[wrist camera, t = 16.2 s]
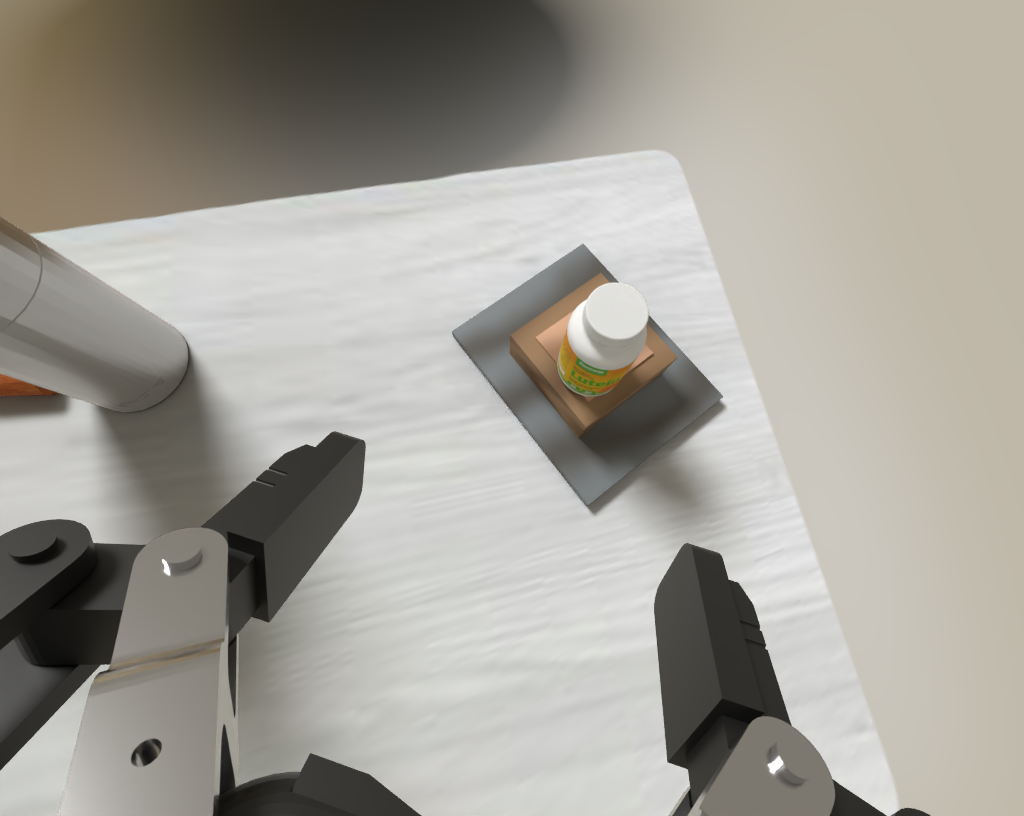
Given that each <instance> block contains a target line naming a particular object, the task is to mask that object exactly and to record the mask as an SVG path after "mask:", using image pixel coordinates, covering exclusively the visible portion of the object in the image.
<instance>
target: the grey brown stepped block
mask: <svg viewBox="0 0 1024 816" xmlns="http://www.w3.org/2000/svg"><path fill="white" fill-rule="evenodd" d="M607 283H619V282H618V281H617V280H616V279H615V278H614V277H613V276H612V274H611V273H610V272H609V271H608V270H607V269H606V268H605V267H604V266H603V265H602V264H601V262H600V261H599V260H598V259H597V258H596V257H595V256H594V255H593V254H592V253H591V252H590V250H589V249H588V248H587V247H586V246H585V245H584V244H582V245H580V246H579V247H577V248H576V249H574V250H573V251H571V252H570V253H568V254H567V255H565V256H564V257H562V258H561V259H559V260H558V261H556V262H555V263H553V264H552V265H551V266H549V267H548V268H546V269H545V270H543V271H542V272H540V273H539V274H537V275H536V276H534V277H533V278H531V279H530V280H528V281H527V282H525V283H524V284H522V285H521V286H519V287H518V288H516V289H515V290H513V291H512V292H510V293H509V294H507V295H506V296H504V297H503V298H501V299H500V300H498V301H497V302H495V303H494V304H492V305H491V306H489V307H488V308H486V309H485V310H483V311H482V312H480V313H479V314H477V315H476V316H474V317H473V318H471V319H470V320H468V321H467V322H465V323H464V324H462V325H461V326H459V327H458V328H456V329H455V330H453V331H452V334H453V337H454V338H455V339H456V340H457V342H458V343H459V344H460V346H461V347H462V348H463V349H464V351H465V352H466V353H467V354H468V356H469V357H470V358H471V360H472V361H473V362H474V363H475V365H476V366H477V367H478V368H479V370H480V371H481V372H482V374H483V375H484V376H485V377H486V379H487V380H488V381H489V382H490V384H491V385H492V386H493V388H494V389H495V390H496V391H497V393H498V394H499V395H500V397H501V398H502V399H503V400H504V402H505V403H506V404H507V405H508V407H509V408H510V409H511V411H512V412H513V413H514V414H515V416H516V417H517V418H518V419H519V421H520V422H521V423H522V425H523V426H524V427H525V428H526V430H527V431H528V432H529V433H530V435H531V436H532V437H533V439H534V440H535V441H536V442H537V444H538V445H539V446H540V447H541V449H542V450H543V451H544V453H545V454H546V455H547V456H548V458H549V459H550V460H551V462H552V463H553V464H554V465H555V467H556V468H557V469H558V470H559V472H560V473H561V474H562V476H563V477H564V478H565V479H566V481H567V482H568V483H569V484H570V486H571V487H572V488H573V490H574V491H575V492H576V493H577V495H578V496H579V497H580V498H581V500H582V501H583V502H584V504H585V505H586V506H587V505H589V504H590V503H592V502H593V501H594V500H595V499H597V498H598V497H599V496H600V495H602V494H603V493H604V492H605V491H607V490H608V489H609V488H610V487H612V486H613V485H614V484H615V483H616V482H618V481H619V480H620V479H621V478H623V477H624V476H625V475H626V474H628V473H629V472H630V471H631V470H633V469H634V468H635V467H636V466H638V465H639V464H640V463H641V462H643V461H644V460H645V459H646V458H648V457H649V456H650V455H651V454H653V453H654V452H655V451H656V450H658V449H659V448H660V447H661V446H663V445H664V444H665V443H666V442H668V441H669V440H670V439H671V438H673V437H674V436H675V435H676V434H678V433H679V432H680V431H681V430H683V429H684V428H685V427H686V426H687V425H689V424H690V423H691V422H692V421H694V420H695V419H696V418H697V417H699V416H700V415H701V414H702V413H704V412H705V411H706V410H707V409H709V408H710V407H711V406H712V405H714V404H715V403H716V402H717V401H719V400H720V399H721V398H722V397H723V396H722V395H721V393H720V392H719V391H718V390H717V389H716V388H715V387H714V386H713V385H712V384H711V383H710V381H709V380H708V379H707V378H706V377H705V376H704V375H703V374H702V373H701V372H700V371H699V369H698V368H697V367H696V366H695V365H694V364H693V363H692V362H691V361H690V360H689V359H688V357H687V356H686V355H685V354H684V353H683V352H682V351H681V350H680V349H679V348H678V347H677V345H676V344H675V343H674V342H673V341H672V340H671V339H670V338H669V337H668V336H667V334H666V333H665V332H664V331H663V330H662V329H661V328H660V327H659V326H658V325H657V324H656V322H655V321H654V320H653V319H652V318H651V317H650V316H649V317H648V322H647V325H646V328H647V338H646V342H645V346H644V348H643V350H642V351H641V353H640V355H639V356H638V357H637V359H636V360H635V361H634V363H633V364H632V365H631V367H630V368H629V369H628V371H627V372H626V373H625V375H624V376H623V377H622V379H621V380H620V381H619V383H618V384H617V385H616V386H615V387H614V388H613V389H612V390H611V391H609V392H608V393H606V394H603V395H600V396H593V397H590V396H583V395H580V394H577V393H575V392H573V391H572V390H571V389H569V388H568V387H567V386H566V385H565V384H564V382H563V381H562V379H561V377H560V375H559V372H558V366H557V362H558V356H559V352H560V349H561V346H562V342H563V339H564V336H565V332H566V329H567V326H568V323H569V320H570V317H571V315H572V313H573V312H574V310H575V309H576V308H577V307H578V306H579V305H580V304H581V303H582V302H583V301H585V300H587V299H588V297H589V296H590V294H591V293H592V292H593V291H594V290H595V289H596V288H598V287H600V286H602V285H604V284H607Z"/></svg>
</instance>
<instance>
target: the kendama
mask: <svg viewBox="0 0 1024 816" xmlns="http://www.w3.org/2000/svg"><path fill="white" fill-rule="evenodd" d="M56 393H57V392H54V391H51V390H48V389H45V388H42V387H39V386H36V385H33V384H30V383H27V382H24V381H21V380H17V379H14V378H11V377H8V376H5V375H2V374H0V396H16V395H52V394H56Z"/></svg>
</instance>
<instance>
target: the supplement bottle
mask: <svg viewBox="0 0 1024 816" xmlns="http://www.w3.org/2000/svg"><path fill="white" fill-rule="evenodd" d="M648 317H649V310H648V305H647V303H646V300H645V299H644V297H643V296H642V295H641V293H640V292H638V291H637V290H636V289H635V288H633V287H631V286H629V285H626V284H623V283H607V284H604V285H602V286H600V287H598V288H596V289H595V290H594V291H593V292H592V293H591V294H590V296H589V297H588V299H587V300H585V301H583V302H582V303H581V304H580V305H579V306H578V307H577V308H576V309H575V310H574V312H573V313H572V315H571V317H570V320H569V323H568V326H567V329H566V332H565V336H564V339H563V342H562V346H561V349H560V352H559V356H558V362H557V366H558V372H559V375H560V377H561V379H562V381H563V382H564V384H565V385H566V386H567V387H568V388H569V389H571V390H572V391H573V392H575V393H577V394H580V395H583V396H590V397H593V396H600V395H603V394H606V393H608V392H609V391H611V390H612V389H613V388H614V387H615V386H616V385H617V384H618V383H619V381H620V380H621V379H622V377H623V376H624V375H625V373H626V372H627V371H628V369H629V368H630V367H631V365H632V364H633V363H634V361H635V360H636V359H637V357H638V356H639V355H640V353H641V351H642V350H643V348H644V346H645V342H646V338H647V328H646V325H647V322H648Z"/></svg>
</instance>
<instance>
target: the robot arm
mask: <svg viewBox="0 0 1024 816" xmlns="http://www.w3.org/2000/svg"><path fill="white" fill-rule="evenodd" d="M188 359H189V357H188V347H187V344H186V341H185V339H184V338H183V336H182V335H181V333H180V332H179V331H178V330H177V329H176V328H175V327H173V326H172V325H170V324H169V323H167V322H166V321H164V320H162V319H161V318H159V317H158V316H156V315H155V314H153V313H151V312H150V311H148V310H147V309H145V308H144V307H142V306H141V305H139V304H138V303H136V302H134V301H133V300H131V299H130V298H128V297H127V296H125V295H124V294H122V293H120V292H119V291H117V290H116V289H114V288H113V287H111V286H109V285H108V284H106V283H105V282H103V281H102V280H100V279H98V278H97V277H95V276H94V275H92V274H91V273H89V272H88V271H86V270H84V269H83V268H81V267H80V266H78V265H77V264H75V263H73V262H72V261H70V260H69V259H67V258H66V257H64V256H63V255H61V254H59V253H58V252H56V251H55V250H53V249H52V248H50V247H48V246H47V245H45V244H44V243H42V242H41V241H39V240H37V239H36V238H34V237H33V236H31V235H30V234H28V233H27V232H25V231H23V230H22V229H20V228H18V227H17V226H15V225H14V224H12V223H10V222H9V221H7V220H6V219H4V218H3V217H1V216H0V374H2V375H5V376H8V377H11V378H14V379H17V380H21V381H24V382H27V383H30V384H33V385H36V386H39V387H42V388H45V389H48V390H51V391H54V392H57V393H61V394H64V395H67V396H70V397H72V398H76V399H79V400H82V401H85V402H88V403H91V404H95V405H98V406H101V407H104V408H107V409H110V410H113V411H118V412H135V411H140V410H143V409H147V408H150V407H152V406H154V405H156V404H158V403H160V402H161V401H162V400H164V399H165V398H166V397H168V396H169V395H170V394H171V393H172V392H173V391H174V390H175V389H176V388H177V386H178V385H179V383H180V382H181V380H182V379H183V376H184V374H185V372H186V369H187V365H188ZM365 448H366V446H365V442H364V440H361V439H358V438H355V437H351V436H348V435H345V434H342V433H339V432H332V433H330V434H329V435H328V436H327V437H326V438H325V439H324V440H323V441H322V442H321V443H320V444H318V445H317V446H316V447H313V446H310V445H307V444H306V445H304V446H301V447H299V448H297V449H294V450H292V451H290V452H287V453H285V454H284V455H283V456H282V457H280V458H279V459H278V460H277V461H276V462H275V463H274V464H272V465H271V466H270V467H269V470H266V471H264V472H263V473H262V474H261V475H260V476H259V477H258V478H256V481H255V482H254V481H253V482H252V483H251V484H250V485H248V486H247V487H246V488H245V489H244V490H243V491H242V492H240V493H239V494H238V495H237V496H236V497H235V498H234V499H232V500H231V501H230V502H229V503H228V504H227V505H226V506H224V507H223V508H222V509H221V510H220V511H219V512H218V513H216V514H215V515H214V516H213V517H212V518H211V519H210V520H208V521H207V522H206V523H205V524H204V525H202V526H201V527H192V528H184V529H178V530H175V531H172V532H169V533H166V534H164V535H162V536H160V537H158V538H156V539H154V540H153V541H151V542H150V543H149V544H147V545H127V544H100V543H93V541H92V538H91V535H90V532H89V530H88V529H87V528H86V526H84V525H83V524H81V523H78V522H76V521H71V520H62V519H57V520H46V521H40V522H35V523H31V524H28V525H24V526H21V527H19V528H16V529H13V530H11V531H9V532H7V533H5V534H3V535H1V536H0V770H1V769H2V768H3V767H4V766H5V765H6V764H7V763H8V762H9V761H10V760H11V759H12V758H13V757H14V756H15V754H16V753H17V752H18V751H19V750H20V749H21V748H22V747H23V746H24V745H25V744H26V743H27V742H28V741H29V740H30V739H31V738H32V737H33V736H34V735H35V733H36V732H37V731H38V730H39V729H40V728H41V727H42V726H43V725H44V724H45V723H46V722H47V721H48V720H49V719H50V718H51V717H52V716H53V715H54V713H55V712H56V711H57V710H58V709H59V708H60V707H61V706H62V705H63V704H64V703H65V702H66V701H67V700H68V699H69V698H70V697H71V696H72V695H73V693H74V692H75V691H76V690H77V689H78V688H79V687H80V686H81V685H82V684H83V683H84V682H85V681H86V680H87V679H88V678H89V677H90V676H91V675H92V673H93V672H94V671H95V670H96V669H97V668H98V667H99V666H100V665H104V664H110V666H109V669H108V670H107V671H103V672H100V673H98V674H97V675H96V677H95V679H94V680H93V683H92V685H91V688H90V691H89V694H88V698H87V702H86V706H85V710H84V714H83V718H82V722H81V726H80V730H79V734H78V738H77V742H76V746H75V750H74V754H73V758H72V762H71V766H70V770H69V774H68V778H67V782H66V786H65V790H64V794H63V798H62V802H61V806H60V810H59V814H58V816H421V815H420V814H418V813H417V812H416V811H415V810H413V809H412V808H411V807H410V806H408V805H407V804H406V803H405V802H403V801H402V800H401V799H400V798H398V797H397V796H396V795H394V794H393V793H392V792H391V791H389V790H388V789H387V788H386V787H384V786H383V785H382V784H381V783H379V782H378V781H377V780H376V779H374V778H373V777H372V776H371V775H369V774H366V773H364V772H361V771H358V770H355V769H353V768H350V767H347V766H344V765H342V764H339V763H336V762H333V761H330V760H328V759H325V758H322V757H319V756H317V755H314V754H311V753H310V755H309V757H308V759H307V761H306V763H305V765H304V767H303V768H302V770H301V772H287V773H280V774H273V775H269V776H265V777H261V778H258V779H255V780H252V781H249V782H247V783H244V784H242V785H240V764H239V743H238V666H239V634H238V633H239V631H240V630H241V629H242V628H243V626H244V625H245V624H246V623H247V621H248V620H249V619H250V618H251V617H254V618H257V619H260V620H263V621H266V622H270V621H271V619H272V618H273V617H274V615H275V614H276V613H277V611H278V610H279V609H280V607H281V606H282V605H283V603H284V602H285V601H286V599H287V598H288V597H289V595H290V594H291V593H292V592H293V590H294V589H295V588H296V586H297V585H298V584H299V582H300V581H301V580H302V578H303V577H304V576H305V574H306V573H307V572H308V570H309V569H310V568H311V566H312V565H313V564H314V562H315V561H316V560H317V558H318V557H319V556H320V554H321V553H322V552H323V550H324V549H325V548H326V547H327V545H328V544H329V543H330V541H331V540H332V539H333V537H334V536H335V535H336V533H337V532H338V531H339V529H340V528H341V527H342V525H343V524H344V523H345V521H346V520H347V519H348V517H349V516H350V515H351V513H352V512H353V511H354V509H355V507H356V505H357V503H358V501H359V498H360V495H361V492H362V485H363V473H364V461H365ZM654 615H655V626H656V637H657V648H658V660H659V671H660V682H661V694H662V705H663V716H664V728H665V739H666V750H667V762H669V763H671V764H674V765H677V766H680V767H683V768H686V769H688V773H689V781H690V786H689V787H688V788H687V789H686V791H685V792H684V793H683V795H682V796H681V798H680V799H679V801H678V802H677V804H676V805H675V807H674V808H673V810H672V811H671V813H670V814H669V816H886V815H885V814H883V813H882V812H880V811H879V810H877V809H876V808H874V807H873V806H871V805H870V804H868V803H867V802H865V801H864V800H862V799H861V798H859V797H858V796H856V795H855V794H853V793H852V792H850V791H849V790H847V789H846V788H844V787H843V786H841V785H840V784H838V783H837V782H836V781H834V780H833V779H832V777H831V774H830V772H829V770H828V767H827V765H826V763H825V762H824V760H823V758H822V757H821V755H820V754H819V752H818V751H817V750H816V748H815V747H814V746H813V745H812V744H811V742H810V741H809V740H808V739H807V738H806V737H805V736H804V735H803V734H801V733H800V732H799V731H798V730H797V729H795V728H794V727H792V725H791V723H790V720H789V717H788V713H787V710H786V707H785V704H784V701H783V698H782V694H781V691H780V688H779V685H778V682H777V678H776V675H775V672H774V669H773V666H772V663H771V659H770V656H769V653H768V650H766V649H765V647H766V644H765V640H764V637H763V634H762V631H760V624H759V621H758V618H757V615H756V612H755V609H754V605H753V604H752V602H751V601H750V599H749V598H748V596H747V595H746V593H745V592H744V590H743V589H742V587H741V586H740V585H739V583H738V582H734V581H731V580H728V576H727V572H726V569H725V565H724V561H723V558H722V556H721V555H720V554H719V553H717V552H714V551H711V550H708V549H704V548H701V547H698V546H695V545H692V544H689V543H686V544H684V545H683V546H682V547H681V549H680V551H679V552H678V554H677V556H676V557H675V559H674V561H673V562H672V564H671V566H670V568H669V569H668V571H667V573H666V574H665V576H664V578H663V579H662V581H661V583H660V585H659V587H658V590H657V593H656V597H655V603H654ZM891 816H930V815H929V814H926V813H924V812H922V811H920V810H916V809H912V808H904V809H901V810H899V811H897V812H896V813H894V814H893V815H891Z"/></svg>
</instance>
